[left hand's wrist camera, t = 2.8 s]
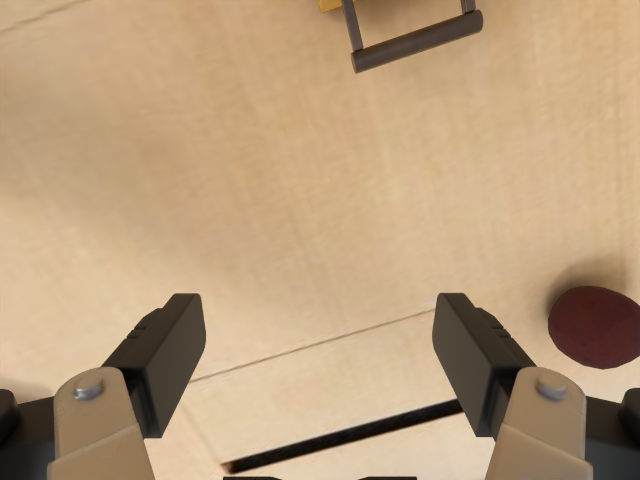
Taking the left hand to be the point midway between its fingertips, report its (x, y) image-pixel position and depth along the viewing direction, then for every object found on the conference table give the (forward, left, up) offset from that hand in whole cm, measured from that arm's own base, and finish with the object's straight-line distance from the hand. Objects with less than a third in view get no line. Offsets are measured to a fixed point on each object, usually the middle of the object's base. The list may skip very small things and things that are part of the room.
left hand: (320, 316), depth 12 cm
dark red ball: (+26, +12, -21) cm, 36 cm away
